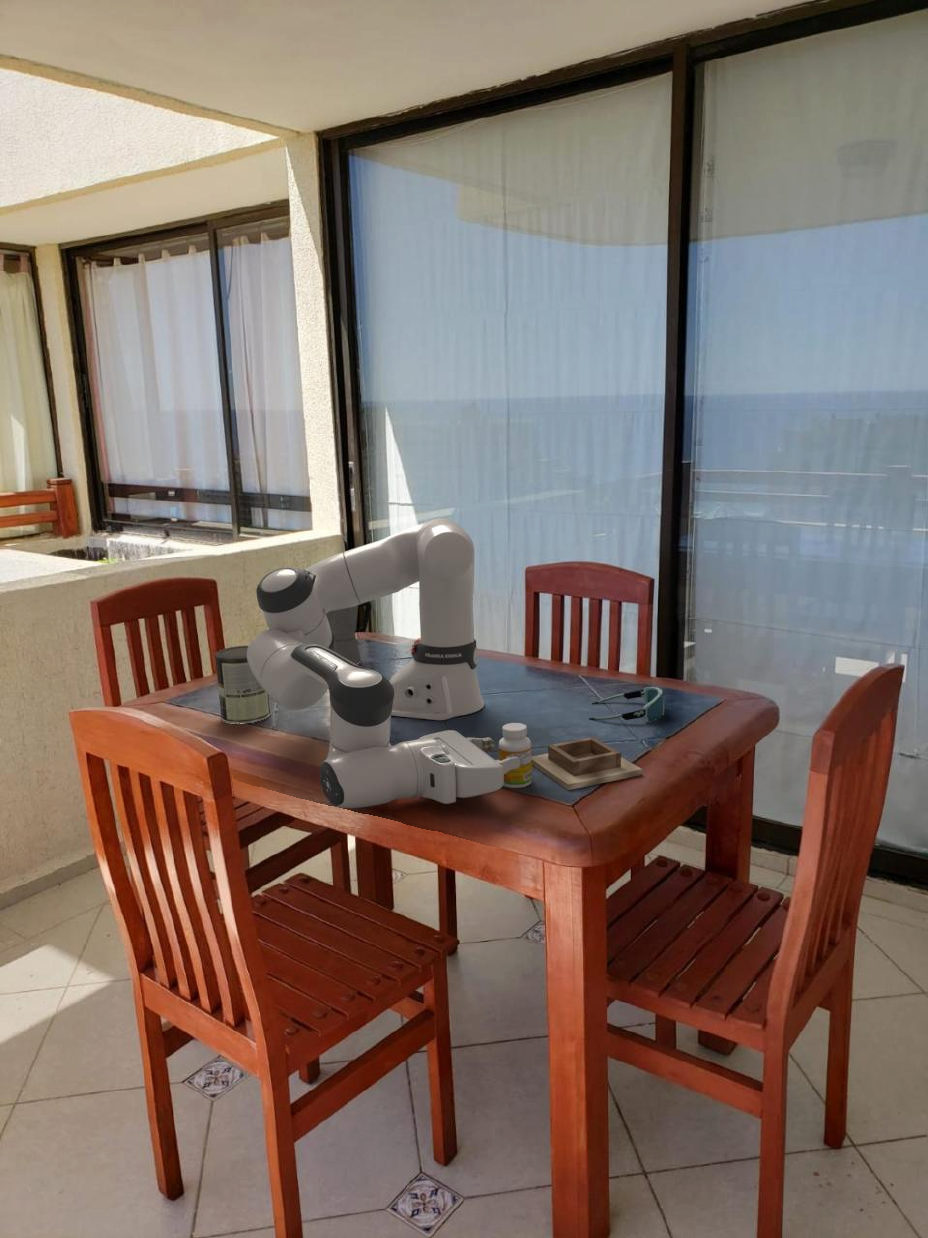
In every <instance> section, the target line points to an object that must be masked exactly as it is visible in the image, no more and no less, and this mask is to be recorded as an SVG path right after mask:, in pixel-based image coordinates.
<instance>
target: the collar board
mask: <svg viewBox="0 0 928 1238" xmlns="http://www.w3.org/2000/svg"><path fill="white" fill-rule="evenodd" d="M532 767H534V768H536V769H537V770H539V771H540V772H541V773H543V774H544V775H546V776H547V777H549V778H551V779H552V780H553V781H555V782H556V783H557V784H558V785H560V786H561V787H563V788H565V789H566V790H567V791H571V790H577V789H581V788H586V787H591V786H595V785H596V786H597V785H600V784H604V783H609V782H615V781H620V780H623V779H624V780H625V779H628V778H634V777H639V776H642V775H643V768H641V767H639V766H637V765H636V764H634V763H632V762H630V761H628V760H627V759H625V758H624V757H622V752H620V751H618V750H617V749H615V748H614V747H612V746H610V745H608V744H607V743H605V742H603V741H601V740H599V739H597V738H596V737H594V736H592V737H584V738H581V739H575V740H570V741H564V742H560V743H559V742H558V743H554V744H548V745H547V753H543V754H538V755H532Z"/></svg>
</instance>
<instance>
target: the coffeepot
mask: <svg viewBox="0 0 928 1238" xmlns="http://www.w3.org/2000/svg"><path fill="white" fill-rule="evenodd" d="M362 607H364V610H363V611H364V612H363V618H362V626H361V627H360V628H357V622H358V612H359V611H358V610H359V608H362ZM372 607H373V606H372V604H371V601H368V602H365V603H362V604H359V605H356V606H352V607H348V608H344V609H339V610H334V611H329V612H328V613H327V614H326V616H327V619H328V622H329V626H330V629H331V632H332V633H333V635H334V639H335V652H337V653H338V654H340V655H342V656H343V657H345V658H347V659H348V660H350V661H352V662H354V663H355V664H357V663H359V662H361V663H362V659H361V655H360V649H359V645H358V641H357V638H356V631H357V630H358V631H359V633H361V632H364V631H366V630H367V628H368V625H369V620H370V615H371V612H372Z"/></svg>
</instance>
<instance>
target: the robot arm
mask: <svg viewBox="0 0 928 1238" xmlns="http://www.w3.org/2000/svg"><path fill="white" fill-rule="evenodd" d="M416 583H419V584H418V588H419V589H418V590H419V591H418V593H419V594H418V597H419V599H418V600H419V601H418V605H419V608H418V609H419V628H420V637H418V638H417V639H416V640H415V641H414V642H413V645H411V648H410V654H411V656H412V659H411V660H410V661H408V663H406V664H405V665H403V666H402V667H401V668H400V669H399V670H398V671H396V672H395V673H394V674H393V675H392V676H391V678H390V679H389V680H388V678H386V677H385V676H383V674H381V673H379V671H376V670H373V669H370V668H367V667H362V666H361V665H360V664H359V665H357V664H355V663H354V662H352V661H350V660H348V659H347V658H345V657H343V656H342V655H340V654H338V653H337V652H335V639H334V635H333V633H332V632H331V629H330V626H329V622H328V619H327V616H326V614H327V613H328V612H329V611H334V610H339V609H344V608H348V607H352V606H356V605H359V604H362V603H365V602H368V601H369V602H371V601H375V600H377V599H380V598H384V597H387V596H389V595H393V594H395V593H399V592H400V591H402V590H404V589H406V588H407V587H410V586H412V585H414V584H416ZM474 589H475V546H474V543H473V540H472V538H471V537H470V535H469V534H468V533H467V532H466V531H465V529H463V527H461V525H459V524H458V523H457V522H456V521H454V520H451V519H449V518H441V517H440V518H434V519H431V520H427V521H425V522H422V523H420V524H418V525H415V526H411V527H409V528H407V529H405V530H402V531H399V532H396V533H395V534H392V535H389V536H387V537H385V538H382V539H379V540H376V541H373V542H370V543H368V544H364V545H361V546H357V547H354V548H351V549H349V550H346V551H342V552H340V553H336V554H333V555H332V556H329V557H327V558H324V559H322V560H320V561H318V562H316V563H314V564H312V565H310V566H308V567H307V568H305V569H301V568H297V567H282V568H277V569H275V570H272V571H270V572H269V573H267V574H265V575H264V576H263V578H262V579H261V580H260V581H259V583H258V585H257V586H256V590H255V591H256V599H257V603H258V607H259V608H260V609H261V612H262V615H263V617H264V620H265V624H266V627H267V628H268V629H267V630H266V629H265V630H263V631H261V632H259V633H258V634H256V635H255V636H254V637H253V638H252V640H251V641H250V642H249V644H248V645H247V646H248V649H247V661H248V664H249V667H250V669H251V671H252V673H253V675H254V676H255V678H256V680H257V681H258V683H259V684H260V686H261V687H262V688H263V689H264V690H265V692H266V693H267V694H268V695H269V698H271V700H273V702H275V703H276V704H277V705H279V706H280V707H282V708H285V709H287V710H291V711H292V710H295V711H296V710H299V711H300V710H304V709H307V708H309V707H311V706H313V705H315V704H317V703H318V702H319V701H320V700H321V699H323V697H325V695H326V693H327V692H328V693H329V701H330V702H329V703H330V705H329V706H330V708H329V709H330V711H329V712H330V713H329V715H330V716H329V719H330V720H329V721H330V722H329V747H328V753H327V756H326V759H324V761H322V762H321V764H320V768H319V779H320V781H319V782H320V785H321V788H322V790H323V791H322V792H323V794H324V796H325V798H326V800H327V802H328V803H330V804H331V805H332V806H333V807H336V808H340V809H359V808H366V807H373V806H380V805H383V804H387V803H390V802H392V801H393V800H397V799H414V798H419V797H420V798H421V797H422V798H424V799H429V800H430V799H431V800H434V801H436V802H439V803H442V804H445V805H447V804H453V803H456V802H457V798H462V799H464V798H465V799H466V798H467V799H468V798H472V797H476V796H481V795H487V794H489V793H492V792H496V791H499V790H500V789H502V788H503V787H504V786H503V785H504V774H505V773H507V772H508V771H510V770H512V769H517V768H519V766H520V759H519V758H518V757H516V756H515V755H512V756H506V759H504V760H501V761H500V760H499V759H495V758H493V757H492V756H490V755H488V754H487V753H486V752H488V751H493V750H494V749H495V741H494V739H492V737H483V738H480V737H465V736H463V735H462V734H461V733H459V732H458V731H457V730H452V729H451V730H450V729H448V730H442V731H438V732H432V733H429V734H426V735H422V736H420V737H419V738H418V739H412V740H408V741H407V740H406V741H401V742H399V743H396V744H395V745H392V744H391V743H390V740H391V739H390V738H391V725H392V724H391V722H392V721H391V720H392V716H395V717H402V718H403V717H406V718H413V719H425V720H433V721H445V720H449V719H452V718H456V717H459V716H465V715H470V714H473V713H477V712H478V711H480V710H482V709H483V708H484V706H485V702H484V699H483V696H482V692H481V689H480V685H479V679H478V673H477V666H478V646H477V640H476V638H475V629H474V627H475V625H474V624H475V623H474V622H475V621H474Z"/></svg>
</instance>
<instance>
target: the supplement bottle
mask: <svg viewBox="0 0 928 1238" xmlns="http://www.w3.org/2000/svg"><path fill="white" fill-rule="evenodd" d="M527 734H528V727H527V724H525V723H521V722H511V723H510V722H509V723H505V724H504V725H502V738H500V740H499V741H498V760H500V761H501V760H504V759H506V756H512V755H515V756H516V757H518V758H519V759H520V766H519V768H517V769H512V770H510V771H508V772H507V773H505V774H504V785H503V786H502V787H506V788H509V789H520V788H525V787H527V786H529V785H531V784H532V782H533V765H532V756H533V753H532V751H533V750H532V742H531V739H530V738H529V737H527V736H528V735H527Z"/></svg>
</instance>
